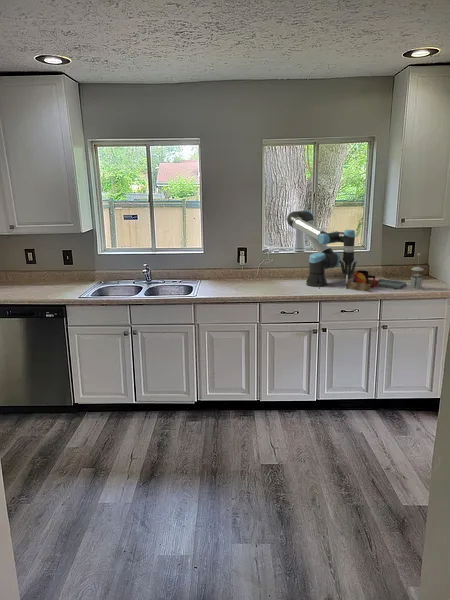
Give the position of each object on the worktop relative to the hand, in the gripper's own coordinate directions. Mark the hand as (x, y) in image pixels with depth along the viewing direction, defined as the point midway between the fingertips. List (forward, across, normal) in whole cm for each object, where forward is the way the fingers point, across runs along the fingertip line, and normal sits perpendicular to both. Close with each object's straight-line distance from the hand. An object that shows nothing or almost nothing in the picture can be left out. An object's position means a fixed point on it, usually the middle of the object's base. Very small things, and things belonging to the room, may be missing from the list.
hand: (347, 283), depth 315 cm
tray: (+2, +24, +18) cm, 30 cm away
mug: (+2, +12, 0) cm, 13 cm away
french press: (+3, +43, +18) cm, 47 cm away
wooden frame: (+2, +12, 0) cm, 12 cm away
